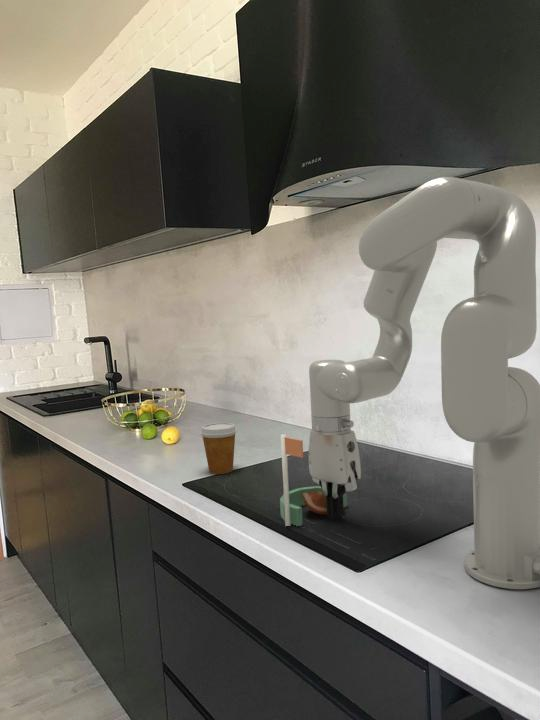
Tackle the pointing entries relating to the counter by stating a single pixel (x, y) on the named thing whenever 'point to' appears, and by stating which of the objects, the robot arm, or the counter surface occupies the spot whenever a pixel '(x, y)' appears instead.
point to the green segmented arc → (293, 498)
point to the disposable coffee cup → (219, 446)
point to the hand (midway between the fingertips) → (335, 515)
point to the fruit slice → (315, 501)
